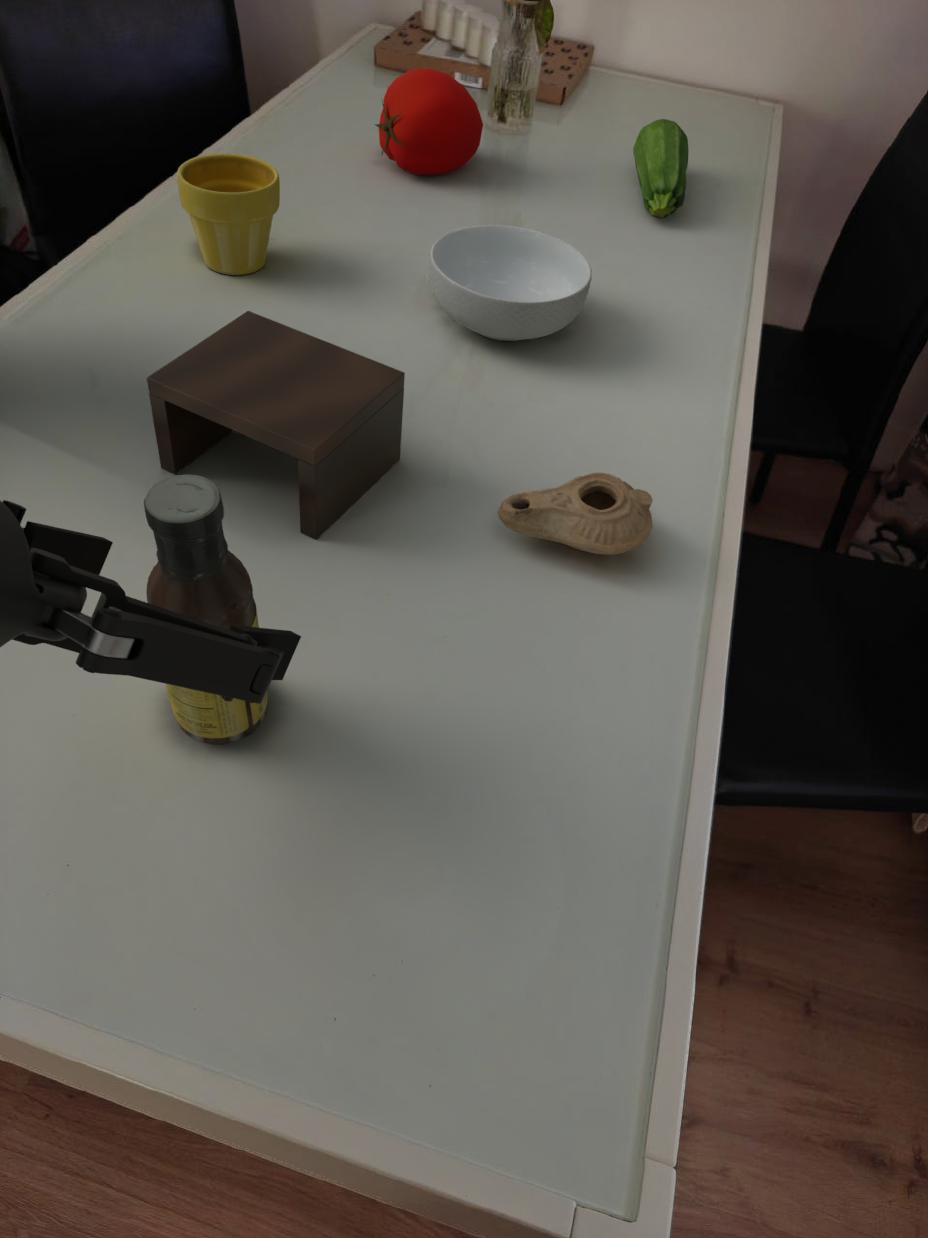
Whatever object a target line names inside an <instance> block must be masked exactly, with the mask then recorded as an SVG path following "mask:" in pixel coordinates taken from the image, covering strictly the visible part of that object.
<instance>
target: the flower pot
mask: <svg viewBox="0 0 928 1238" xmlns="http://www.w3.org/2000/svg"><path fill="white" fill-rule="evenodd" d="M176 177H177V178H176V179H177V187H178V194H179V200H180V205H181V207H182V209H183V210H184V211H185V212H186V213H187V214H188V216H189V218H190V221H191V224H192V227H193V231H194V234H195V237H196V240H197V243H198V246H199V250H200V253H201V256H202V259H203V262H204V264H205V265H206V266H207V267H208V268H209V269H210V270H212V271H214V272H215V273H216V272H217V273H219V274H223V275H229V276H242V275H248V274H249V275H250V274H252V273H255V272H257V271H259V270H261V269H262V268H263V267H264V266H265V264H266V260H267V253H268V246H269V241H270V236H271V230H272V222H273V219H274V215H275V214H276V213H277V212H278V210H279V207H280V200H281V197H280V196H281V187H280V186H281V185H280V184H281V182H280V174H279V171H278V170H277V169H276V168H275V167H274V166H273V165H272V164H270V163H269V162H268V161H265V160H263V159H260V158H258V157H255V156H251V155H246V154H241V153H225V152H223V153H222V152H221V153H220V152H219V153H209V154H203V155H199V156H198V155H197V156H195V157H192V158H190V159H187V160H186V161H184V162H183V163H182V164H181V165H180V166H179V167H178V168H177V171H176Z"/></svg>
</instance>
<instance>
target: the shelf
mask: <svg viewBox="0 0 928 1238" xmlns="http://www.w3.org/2000/svg"><path fill="white" fill-rule="evenodd" d="M405 375H406V373H405V371H403V370H399V369H397V368H394V367H392V366H389V365H387V364H384V363H381V362H378V361H377V360H375V359H372V358H368V357H366V356H364V355H362V354H359V353H357V352H354V351H351V350H348V349H346V348H343V347H341V346H339V345H336V344H334V343H331V342H329V341H326V340H324V339H321V338H319V337H316V336H313V335H310V334H308V333H307V332H303V331H301V330H298V329H295V328H294V327H290V326H288V325H286V324H283V323H280V322H279V321H275V320H273V319H270V318H268V317H266V316H262V315H260V314H258V313H256V312H253V311H250V310H247V311H245V312H244V313H243V314H241V315H239V316H238V317H236V318H235V319H233V320H232V321H230V322H229V323H227V324H225V325H224V326H223V327H221V328H220V329H218V330H217V331H215V332H214V333H212V334H210V335H209V336H207V337H206V338H204V339H203V340H201V341H200V342H198V343H197V344H195V345H194V346H193V347H191V348H189V349H187V351H185V352H183V353H182V354H181V355H179V356H177V357H176V358H174V359H173V360H171V361H169V362H168V363H167V364H166V365H164V366H162V367H161V368H159V369H157V370H156V371H155V372H153V373H151V374H150V375H148V376H147V377H146V384H147V388H148V389H147V390H148V393H149V394H148V397H149V403H150V409H151V415H152V421H153V427H154V428H153V429H154V434H155V440H156V446H157V452H158V458H159V465H160V468H161V469H162V470H164V471H166V472H168V473H171V474H173V475H174V476H176V475H178V474H179V473H180V472H181V471H182V470H184V469H185V468H186V467H188V466H189V465H190V464H191V463H193V462H194V461H195V460H197V459H198V458H200V457H201V456H203V454H204V453H206V452H208V451H209V450H210V449H211V448H212V447H214V446H215V445H216V444H217V443H219V442H220V441H222V439H224V438H225V437H226V436H228V435H229V434H231V432H233V431H234V432H236V433H239V434H240V435H243V436H245V437H248V438H250V439H252V440H254V441H257V442H259V443H261V444H263V445H266V446H268V447H270V448H273V449H275V450H277V451H280V452H281V453H284V454H286V455H289V456H291V457H293V458H296V459H297V470H298V471H297V475H298V498H299V499H298V501H299V502H298V503H299V529H300V534H301V535H302V534H303V535H304V536H307V537H309V538H311V539H313V540H316V541H317V540H319V538H320V537H322V536H323V535H324V534H325V533H326V532H327V531H328V530H329V529H330V528H331V527H332V526H333V525H334V524H335V523H336V522H337V521H338V520H339V519H340V518H342V516H343V515H344V514H345V513H346V512H347V511H348V510H349V509H351V508H352V506H353V505H354V504H356V502H358V500H360V499H361V498H362V497H363V496H364V495H365V494H366V493H367V492H368V491H369V490H371V488H373V486H374V485H375V484H376V483H377V482H378V481H380V480H381V478H383V476H385V475H386V474H387V472H389V471H390V469H392V468H393V467H394V466H395V465H396V464H397V463H398V462H399V461H400V460H401V450H402V448H401V447H402V433H403V430H402V429H403V414H404V400H405V399H404V398H405V397H404V396H405V377H406V376H405Z"/></svg>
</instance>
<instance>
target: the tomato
mask: <svg viewBox="0 0 928 1238" xmlns="http://www.w3.org/2000/svg"><path fill="white" fill-rule="evenodd" d="M380 99H381V103H382V104H381V105H382V107H383V108H382V110H381V112H380V117H379V122H378V123H376V124H374V126H376V127H377V128H378V139H379V146H380V148H381V149H382V151H381V155H383V153H385V155H386V156H387V158H388V159H389V160H391V161H393V162H395V164H396V166H398V167H399V168H400V169H402V170H403V171H404V172H408V173H409V174H410V173H411V174H412V175H413V174H414V175H415V176H442V175H446V174H450V173H454V172H455V173H456V172H457V171H459V170H460V169H462V168H463V167H465V166H466V165H467V163H469V161H470V160H471V159H472V158H473V157H474V156H475V155H476V153H477V151H478V149H479V147H480V146H481V145H480V144H481V140H482V134H483V128H484V123H483V122H484V121H483V119H482V116H481V112H480V110H479V107H478V104H477V102H476V100H475V99H474V97H473V96H472V95H471V94H470V92H469V91H468V89H467V88H466V87H465V86H464V85H463V84H462V83H460V82H459V81H458V80H456V78H454V77H453V76H452V75H450V74H449V73H447V72H443V71H441V70H439V69H434V68H430V67H419V68H413V69H410V70H408V71H406V72H405V73H403V74H401V75H399V76H398V77H395V79H394V80H393V81H392V82H391V83H390V84H389V86H388V87H387V89H386V91H385V94H384V96H383V99H382V97H381V98H380Z"/></svg>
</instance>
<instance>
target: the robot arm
mask: <svg viewBox="0 0 928 1238" xmlns="http://www.w3.org/2000/svg"><path fill="white" fill-rule="evenodd" d="M26 511H27V508H26V507H24V506H22V505H20V504H18V503H15V502H12V501H10V500H5V499H3V500H0V648H2V647H4V645H6V644H8V643H9V642H11V641H15V642H19V643H23V644H26V645H29V646H36V645H39V644H40V645H41V644H46V645H50V646H53V647H57V648H60V649H64V650H67V651H70V652H74V653H77V654H78V655H77V658H76V660H75V664H76V665H77V666H78V668H81V669H82V670H83V671H84V672H87V673H90V674H100V675H101V674H102V675H113V676H114V675H116V676H128V677H134V678H136V679H137V678H138V679H142V680H147V681H152V682H155V683H161V684H165V685H166V684H170V685H174V686H179V687H184V688H188V689H193V690H198V691H202V692H207V693H211V694H216V695H220V696H221V698H222V699H224V701H228V702H231V701H232V700H233V698H235V699H239V700H244V701H247V702H249V703H258V704H260V703H262V701H263V699H264V696H265V694H266V692H267V693H268V690H269V688H270V685H271V683H272V681H283V680H284V677H285V675H286V672H287V670H288V668H289V665H290V664H291V661H292V659H293V657H294V654H295V652H296V650H297V647H298V645H299V643H300V641H301V638H302V635H300V634H298V633H296V632H293V631H292V630H286V629H278V628H267V627H259V628H258V627H248V626H238V625H232V627H231V629H230V630H228V629H225V628H222V627H219V626H216V625H213V624H210V623H207V622H204V621H200V620H197V619H194V618H191V617H188V616H185V615H182V614H179V613H176V612H173V611H170V610H167V609H164V608H161V607H158V606H155V605H152V604H149V603H148V602H146V601H143V600H140V599H137V598H134V597H131V596H128V595H126V591H125V590H124V589H123V587H122V586H121V585H120V584H119V582H118V581H116V580H114V579H112V578H108V577H105V576H103V575H101V572H102V569H103V567H104V565H105V562H106V561H107V558H108V556H109V553H110V551H111V548H112V546H113V544H114V542H113V541H112V540H109V539H107V538H106V537H103V536H98V535H93V534H90V533H85V532H80V531H75V530H72V529H66V528H61V527H57V526H53V525H48V524H43V523H39V522H33V521H29V520H27V521H26V524H25V526H24V527H22V525H21V523H22V521H23V519H24V516H25V514H26ZM87 589H89V590H93V591H95V592H98V593H100V596H99V599H98V600H97V603H96V605H95V607H94V610H93V612H92V615H91V616H89V615H87V614H85V613H83V612H82V611H83V608H84V606H85V603H86V601H87V598H88V591H87Z"/></svg>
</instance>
